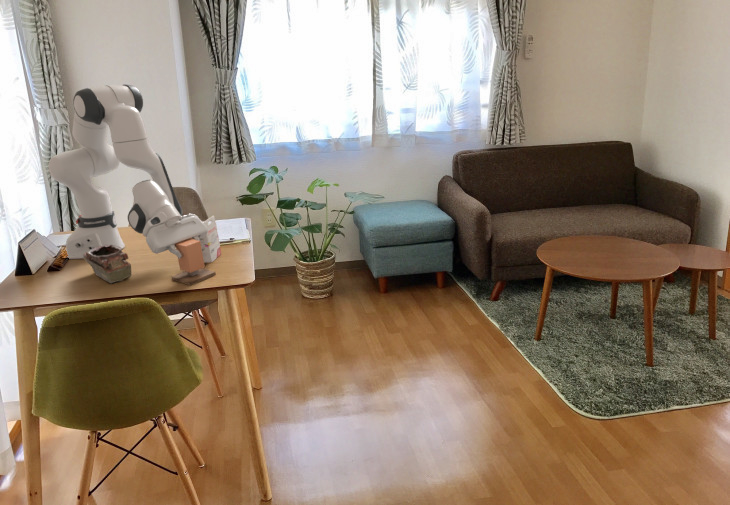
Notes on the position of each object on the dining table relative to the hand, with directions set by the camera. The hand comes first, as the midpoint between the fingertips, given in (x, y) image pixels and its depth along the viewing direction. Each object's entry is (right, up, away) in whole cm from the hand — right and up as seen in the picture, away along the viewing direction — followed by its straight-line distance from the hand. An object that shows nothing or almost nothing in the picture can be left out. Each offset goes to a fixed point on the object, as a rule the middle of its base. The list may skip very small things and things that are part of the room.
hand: (190, 253), depth 201 cm
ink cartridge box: (+2, -2, +19) cm, 20 cm away
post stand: (0, -8, +3) cm, 8 cm away
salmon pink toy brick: (0, -5, +2) cm, 5 cm away
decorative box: (-31, -8, +10) cm, 34 cm away
